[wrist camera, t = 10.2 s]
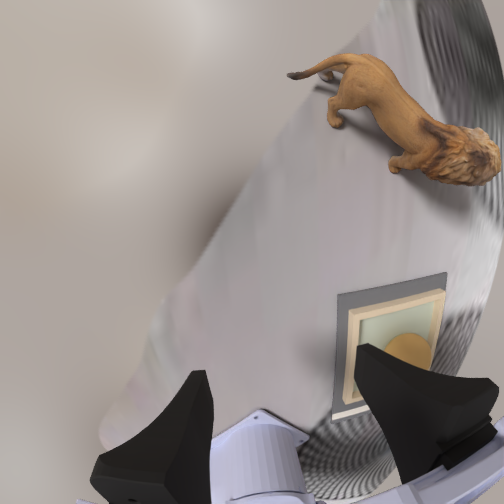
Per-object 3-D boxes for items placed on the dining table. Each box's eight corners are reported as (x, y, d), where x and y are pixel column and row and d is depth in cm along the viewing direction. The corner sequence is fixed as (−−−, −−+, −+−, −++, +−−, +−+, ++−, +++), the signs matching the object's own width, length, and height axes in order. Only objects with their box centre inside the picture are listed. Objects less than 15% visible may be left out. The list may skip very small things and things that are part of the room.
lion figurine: (439, 147, 19) (514, 141, 11) (422, 198, 20) (501, 209, 12) (297, 54, 17) (335, -12, 8) (270, 107, 18) (299, 52, 9)
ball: (385, 374, 24) (409, 402, 19) (364, 353, 23) (389, 382, 18) (418, 340, 23) (446, 363, 19) (400, 315, 22) (432, 338, 18)
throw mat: (420, 392, 26) (426, 398, 24) (330, 422, 25) (334, 430, 24) (445, 271, 22) (453, 275, 21) (337, 294, 21) (343, 300, 20)
